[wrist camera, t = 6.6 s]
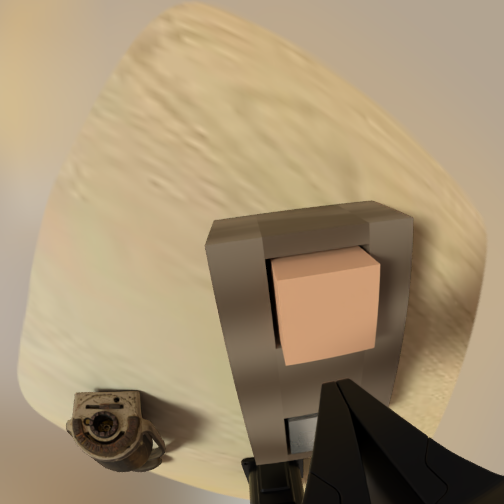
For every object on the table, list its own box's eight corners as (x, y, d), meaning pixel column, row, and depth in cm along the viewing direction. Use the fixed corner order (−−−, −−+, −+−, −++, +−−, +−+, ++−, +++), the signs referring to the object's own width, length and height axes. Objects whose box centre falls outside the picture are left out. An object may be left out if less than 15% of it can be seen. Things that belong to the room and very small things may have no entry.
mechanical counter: (192, 452, 18) (56, 427, 14) (164, 510, 20) (68, 494, 16) (181, 390, 24) (73, 366, 20) (157, 460, 26) (74, 444, 23)
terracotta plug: (344, 302, 17) (374, 347, 13) (274, 314, 17) (285, 365, 13) (343, 233, 16) (380, 264, 12) (266, 244, 16) (277, 280, 12)
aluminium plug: (334, 401, 23) (348, 442, 18) (284, 410, 23) (291, 454, 18) (335, 365, 21) (354, 408, 17) (280, 375, 21) (288, 422, 17)
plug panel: (361, 400, 23) (378, 440, 19) (253, 420, 23) (256, 464, 19) (372, 200, 18) (413, 217, 13) (213, 220, 18) (204, 245, 13)
